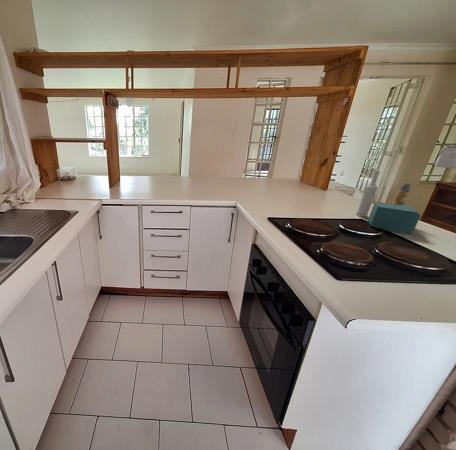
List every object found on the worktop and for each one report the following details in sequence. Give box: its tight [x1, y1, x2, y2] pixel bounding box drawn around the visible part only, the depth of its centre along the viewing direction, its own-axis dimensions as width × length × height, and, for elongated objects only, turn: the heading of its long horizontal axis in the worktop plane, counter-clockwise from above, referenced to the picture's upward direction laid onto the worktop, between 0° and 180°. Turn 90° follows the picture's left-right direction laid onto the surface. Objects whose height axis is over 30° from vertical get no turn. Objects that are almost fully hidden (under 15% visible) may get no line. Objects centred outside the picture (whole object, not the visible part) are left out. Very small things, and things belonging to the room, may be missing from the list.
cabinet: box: [367, 201, 419, 235], centre depth 115 cm, size 14×14×11 cm
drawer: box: [409, 212, 422, 234], centre depth 114 cm, size 14×12×9 cm
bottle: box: [355, 170, 381, 217], centre depth 130 cm, size 5×5×25 cm
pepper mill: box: [391, 182, 412, 206], centre depth 124 cm, size 5×5×21 cm
